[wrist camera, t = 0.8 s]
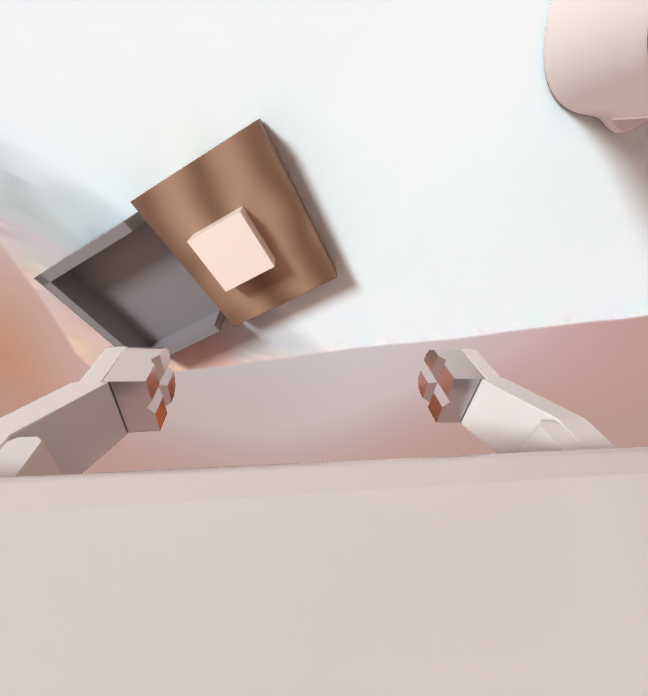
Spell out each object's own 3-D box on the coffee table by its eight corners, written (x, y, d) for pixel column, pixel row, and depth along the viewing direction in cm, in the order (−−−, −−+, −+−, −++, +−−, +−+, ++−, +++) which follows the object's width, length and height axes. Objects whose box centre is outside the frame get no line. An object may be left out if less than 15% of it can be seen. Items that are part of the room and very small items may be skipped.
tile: (242, 205, 30) (239, 211, 29) (275, 259, 34) (274, 266, 32) (192, 234, 32) (186, 241, 30) (229, 283, 35) (225, 291, 33)
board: (260, 118, 28) (257, 119, 26) (335, 268, 37) (337, 277, 35) (140, 195, 31) (130, 201, 29) (236, 316, 41) (233, 327, 39)
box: (140, 210, 32) (123, 221, 29) (225, 313, 40) (219, 331, 37) (57, 262, 35) (34, 278, 32) (152, 349, 43) (141, 369, 40)
